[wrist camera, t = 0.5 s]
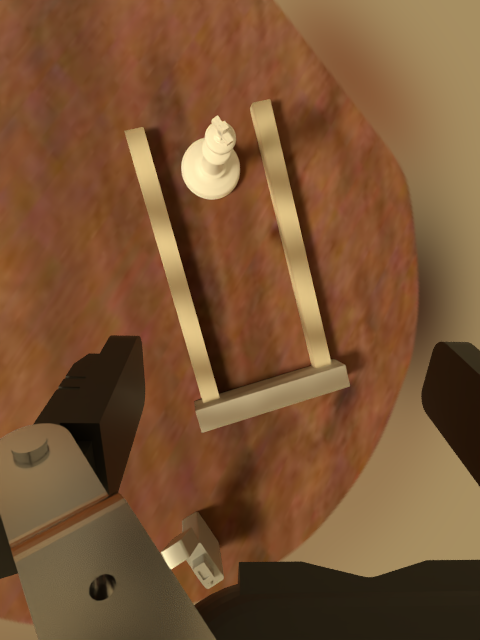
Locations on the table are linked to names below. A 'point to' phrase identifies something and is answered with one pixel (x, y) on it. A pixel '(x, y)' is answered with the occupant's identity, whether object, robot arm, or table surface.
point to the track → (323, 371)
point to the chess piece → (212, 162)
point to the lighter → (196, 551)
